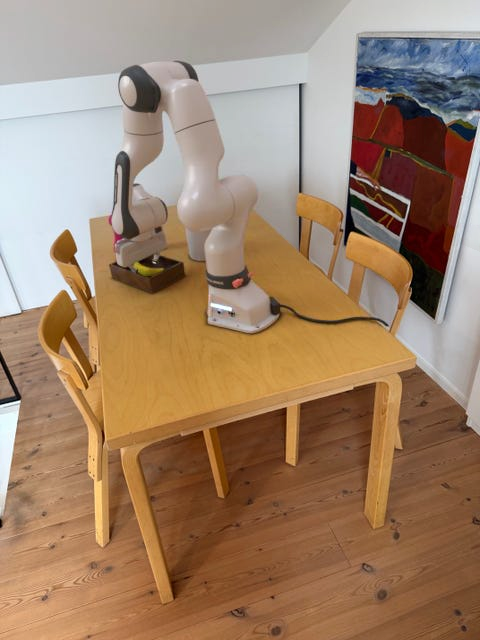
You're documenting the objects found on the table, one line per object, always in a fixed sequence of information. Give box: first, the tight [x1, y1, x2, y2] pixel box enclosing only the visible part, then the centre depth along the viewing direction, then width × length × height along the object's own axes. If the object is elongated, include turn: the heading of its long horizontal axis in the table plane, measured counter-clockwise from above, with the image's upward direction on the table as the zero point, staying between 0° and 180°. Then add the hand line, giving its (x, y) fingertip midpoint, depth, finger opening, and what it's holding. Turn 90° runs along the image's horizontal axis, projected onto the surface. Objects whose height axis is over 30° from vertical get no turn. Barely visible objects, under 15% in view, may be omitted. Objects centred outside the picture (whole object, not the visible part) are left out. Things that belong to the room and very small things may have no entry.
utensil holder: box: [184, 227, 212, 262], centre depth 173 cm, size 15×15×18 cm
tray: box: [108, 254, 186, 295], centre depth 163 cm, size 22×15×6 cm
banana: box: [133, 262, 164, 276], centre depth 162 cm, size 3×19×6 cm, turn 52°
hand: (145, 268), depth 162 cm, fingers open, 8 cm apart
